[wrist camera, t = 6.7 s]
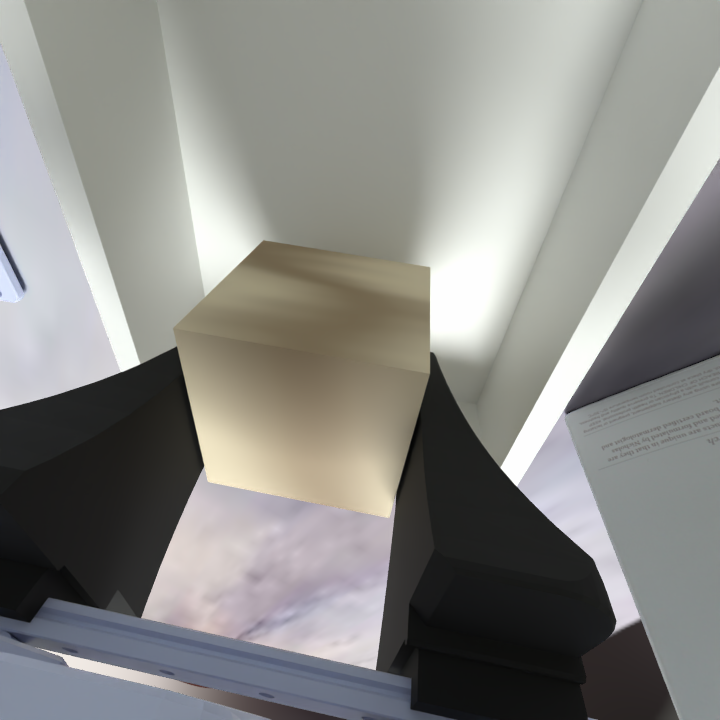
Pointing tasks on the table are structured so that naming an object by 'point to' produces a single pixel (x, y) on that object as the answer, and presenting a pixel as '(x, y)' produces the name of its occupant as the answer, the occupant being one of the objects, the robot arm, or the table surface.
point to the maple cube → (309, 374)
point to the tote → (382, 163)
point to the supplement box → (665, 518)
